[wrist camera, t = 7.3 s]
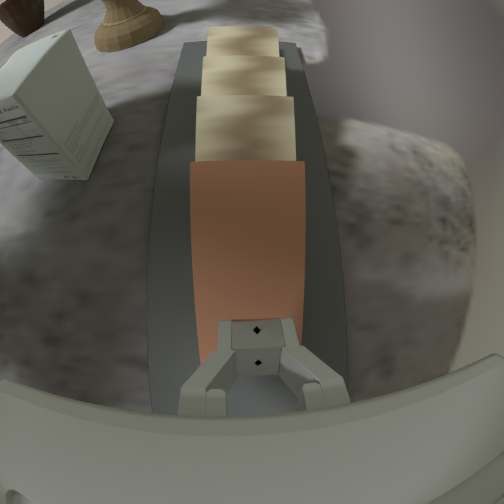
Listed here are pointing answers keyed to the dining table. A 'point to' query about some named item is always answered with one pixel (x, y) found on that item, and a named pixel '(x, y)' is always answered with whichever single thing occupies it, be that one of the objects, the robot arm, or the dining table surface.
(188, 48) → the mat
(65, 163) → the supplement box
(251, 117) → the domino
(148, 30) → the oil lamp
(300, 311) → the domino
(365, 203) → the dining table surface
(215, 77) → the domino
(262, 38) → the domino
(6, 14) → the plant pot
